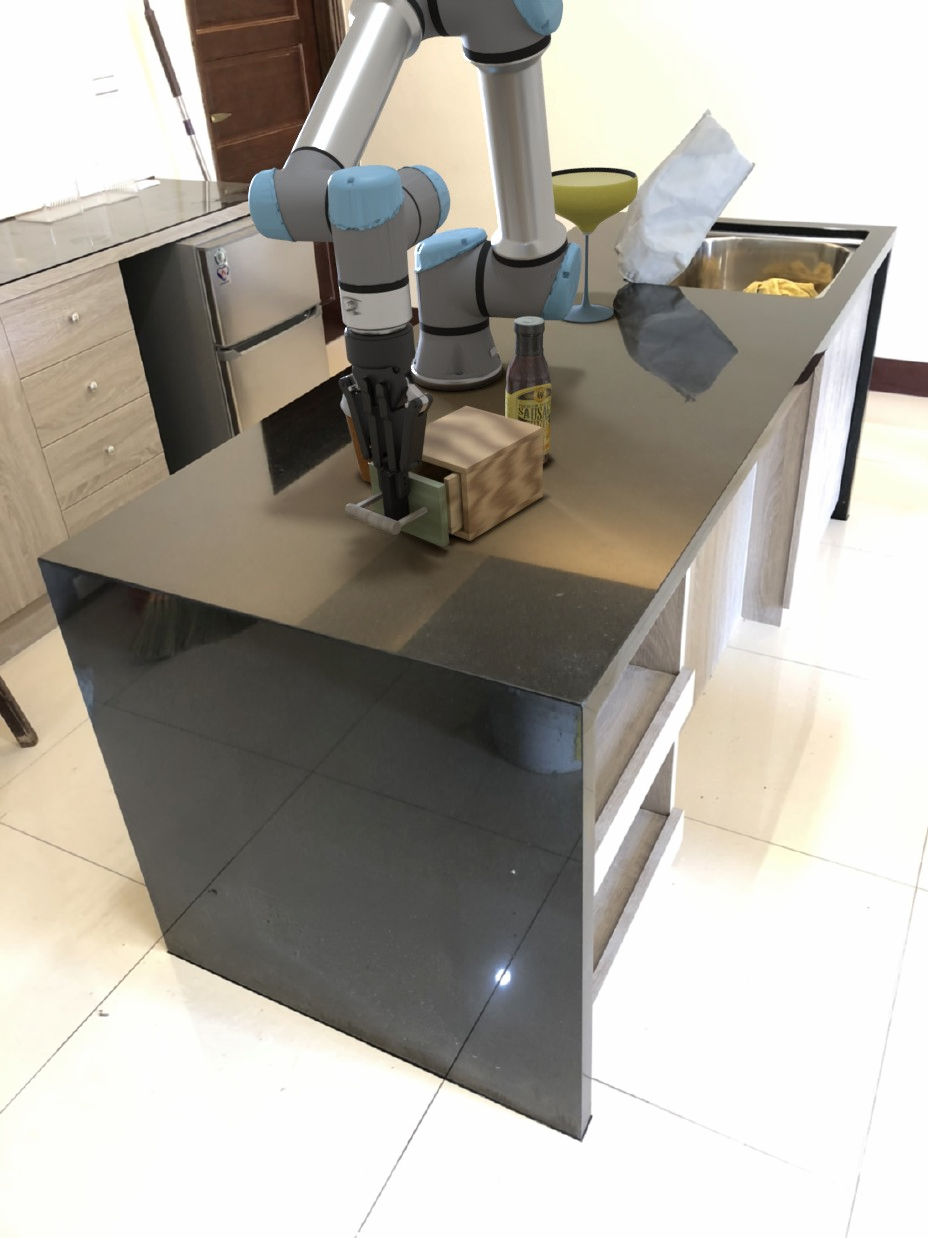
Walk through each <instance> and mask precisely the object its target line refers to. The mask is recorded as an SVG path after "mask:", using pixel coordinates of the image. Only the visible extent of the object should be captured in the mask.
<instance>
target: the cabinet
mask: <svg viewBox="0 0 928 1238" xmlns="http://www.w3.org/2000/svg"><path fill="white" fill-rule="evenodd" d="M422 461H425V462H428V463H431V464H434V465H437V466H440V467H443V468H446V469H449V470H452V471H455V472H458V473H461V484H462V501H463V518H464V527H463V528H461V529H459V530H458V531H456V532H454V533H453V534H451V533H449V534H451V535H452V536H454V537H455V536H456V537H459V538H460V539H462V540H466V541H468V542H471V541H473V540H474V539H476V538H477V537H479V536H480V535H483V534H484V533H486V532H487V531H489V530H490V529H492V528H494V527H496V526H497V525H500V524H501V523H502V522H504V521H505V520H507V519H509V518H510V517H512V516H514V515H515V514H517V513H518V512H520V511H521V510H523V509H525V508H526V507H528V506H530V505H532V504H533V503H535V502H536V501H538V500H539V499H541V498H543V497H544V467H543V466H544V464H543V443H542V427H540V426H537V425H533V424H530V423H526V422H522V421H519V420H515V419H512V418H508V417H505V416H504V415H501V414H498V413H493V412H490V411H487V410H483V409H479V408H476V407H472V406H468V405H464V406H462V407H461V408H459V409H456V410H454V411H452V412H450V413H448V414H447V415H443V416H442V417H440V418H438V419H436V420H434V421H432V422H430V423H427V424H426V430H425V438H424V446H423V455H422Z"/></svg>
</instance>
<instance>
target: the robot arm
mask: <svg viewBox="0 0 928 1238" xmlns="http://www.w3.org/2000/svg"><path fill="white" fill-rule="evenodd" d="M563 13H564V2H563V0H352V1H351V3H350V7H349V10H348V21H349V28H348V30H347V32H346V35H345V36H344V39H343V41H342V43H341V44H340V47H339V49H338V50H337V53H336V55H335V58H334V60H333V61H332V64H331V67H330V68H329V70H328V72H327V75H326V77H325V79H324V82H323V83H322V86H321V88H320V90H319V92H318V94H317V96H316V98H315V100H314V103H313V105H312V107H311V109H310V111H309V113H308V116H307V118H306V120H305V122H304V124H303V126H302V129H301V130H300V132H299V135H298V137H297V139H296V141H295V143H294V145H293V147H292V150H291V152H290V154H289V156H288V157H287V160H286V161H285V164H284V166H283V167H282V168H281V169H280V168H277V167H272V168H271V169H264V170H261V171H259V172H258V173H256V174H255V175H254V176H253V178H252V180H251V182H250V184H249V185H250V186H249V189H248V199H247V200H248V211H249V215H250V219H251V221H252V222H253V224H254V226H255V229H256V231H258V233H259V234H260V235H262V236H263V237H265V238H267V239H271V240H277V241H278V240H279V241H286V242H291V243H297V242H305V243H306V242H309V243H310V242H311V243H312V242H315V243H333V249H334V257H335V258H334V259H335V264H336V273H337V285H338V289H339V298H340V299H339V301H340V308H341V316H342V322H343V324H344V325H345V326H346V327H345V329H344V330H343V337H344V344H345V345H344V346H345V353H346V359H347V361H348V363H349V364H350V365H352V367H351V373H350V374H348V375H346V376H343V377H341V378H339V379H338V382H337V383H338V387H339V388H340V390H341V392H342V395H343V394H344V396H345V397H346V400H347V403H348V407H349V410H350V414H351V418H352V421H353V425H354V428H355V432H356V435H357V439H358V442H359V446H360V450H361V453H362V456H363V458H364V459H365V460H369V459H370V460H371V461H372V462H373V464H374V467H375V468H377V474H378V482H379V489H380V491H382V496H383V506H384V515H385V517H388V518H391V519H393V520H396V521H399V520H401V519H402V518H404V517H406V516H408V515H409V505H408V494H409V493H410V487H409V486H410V484H409V473H408V472H409V471H411V470H413V469H415V468H417V467H419V466H420V465H421V463H422V455H423V446H424V438H425V430H426V425H427V421H428V414H429V413H428V412H429V410H430V409H431V406H432V404H433V402H434V397H433V395H432V393H430V392H426V393H423V392H422V391H421V389H419V388H418V387H417V386H416V384H417V385H419V386H421V387H423V388H425V389H426V388H427V389H430V390H436V391H451V392H452V391H454V392H455V391H466V390H467V391H468V390H472V389H478V388H483V387H485V386H488V385H490V384H493V383H495V382H496V381H498V380H499V379H500V378H501V377H502V375H503V361H502V359H501V356H500V354H499V353H498V352H499V351H498V348H497V345H496V344H495V340H494V337H493V334H492V331H491V327H490V318H496V319H497V318H498V319H499V318H500V319H514V320H515V319H517V318H520V317H527V316H532V317H540V318H542V319H544V321H562V320H563V319H564V318H565V317H566V316H567V315H568V314H569V313H570V311H571V309H572V306H574V304H575V299H576V296H577V293H578V289H579V284H580V277H581V271H582V261H583V259H582V258H583V255H582V248H581V246H580V244H579V243H576V242H575V241H570V242H569V240H568V230H567V228H566V225H565V224H564V223H563V222H562V221H559V219H556V214H555V207H554V196H553V185H552V173H551V172H552V164H551V153H550V141H549V131H548V119H547V109H546V108H547V107H546V98H545V85H544V74H543V63H542V57H543V55H544V54H545V52H546V51H547V50H548V49H549V47H550V46H551V44H552V34H553V33H555V32H557V30H559V27H560V26H561V23H562V19H563ZM438 37H439V38H440V37H443V38H450V37H451V38H454V37H455V38H458V37H459V38H460V39H461V46H462V52H463V57H464V59H465V60H466V61H467V62H469V63H470V64H471V65H473V67H475V68H476V69H477V70H476V71H477V75H478V76H477V78H478V84H479V93H480V99H481V107H482V114H483V121H484V128H485V137H486V144H487V150H488V157H489V166H490V173H491V179H492V186H493V187H492V188H493V195H494V202H495V209H496V215H497V224H498V228H497V229H496V230H495V232H494V233H493V234H492V236H491V239H490V240H489V239H488V234H487V231H486V230H485V229H484V228H481V227H480V228H479V227H462V228H455V229H450V230H445V231H441V232H438V233H437V230H439V229H440V228H441V227H442V226H443V225H444V224H445V223H446V221H447V219H448V216H449V213H450V209H451V196H450V191H449V187H448V186H447V184H446V182H445V180H444V179H443V177H442V176H441V175H440V174H439V173H438V172H437V171H436V170H434V169H433V168H431V167H429V166H426V165H423V164H413V165H404V166H402V167H401V168H397V169H395V168H394V167H392V166H389V165H381V164H368V165H366V164H365V165H360V164H361V163H360V162H361V161H362V158H363V156H364V153H365V152H366V149H367V146H368V144H369V142H370V139H371V138H372V135H373V132H374V131H375V128H376V126H377V124H378V122H379V119H380V117H381V115H382V113H383V110H384V107H385V105H386V103H387V101H388V99H389V96H390V94H391V92H392V90H393V87H394V84H395V82H396V80H397V78H398V75H399V73H400V71H401V69H402V66H403V64H404V62H405V61H406V60H408V59H410V58H411V57H413V56H414V55H415V53H417V51H418V50H419V47H420V45H421V44H422V42H423V41H425V40H428V39H432V38H438ZM413 247H415V249H414V270H413V272H414V274H415V275H414V276H415V286H416V298H417V311H418V323H419V335H418V341H417V345H416V347H415V335H414V325H413V324H412V323H411V322H410V321H411V320H412V318H413V308H412V307H413V306H412V298H411V285H410V274H409V259H408V251H409V250H410V249H411V248H413ZM370 445H371V447H369V446H370Z"/></svg>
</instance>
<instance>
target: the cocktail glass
mask: <svg viewBox="0 0 928 1238" xmlns="http://www.w3.org/2000/svg"><path fill="white" fill-rule="evenodd" d="M551 173H552V185H553V196H554V207H555V215H557V216H558V217H561V218H563V219H565V220H567V221H569V222H570V223H572V224H574V226H575V227H576V228H577V230H578V231H579V232H580V234H582V235H583V236H584V278H583V279H584V281H583V294H582V295H583V296H582V301H581V304H573V306H572V309H571V311H570V313H569V314H568V315H567V316H566V317H565V318H564V319H562V320H563V321H566V322H568V323H575V324H577V323H579V324H591V323H599V322H603V321H606V320H608V319H611V318H612V317H613V316H614V310H613V309H612V308H610V307H608V306H605V305H600V304H591V303H590V296H589V237H590V236H591V235H593V233H594V232H595V231H596V229H597V227H598V226H599V225H600V224H602V222H604V221H605V220H608V219H609V218H611V217H613V216H614V215H616V214H618V213H620V212H621V211H623V210H625V209H626V208H627V207H629V206H630V205H631V204H632V203H633V202H634V200H635V199H636V198H637V194H638V190H639V189H638V188H639V179H638V175H637V173H636V172H634V171H632V170H628V169H624V168H617V167H601V166H600V167H597V166H595V167H594V166H593V167H592V166H591V167H589V166H588V167H574V168H566V169H560V170H555V171H554V170H553V171H551Z"/></svg>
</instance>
